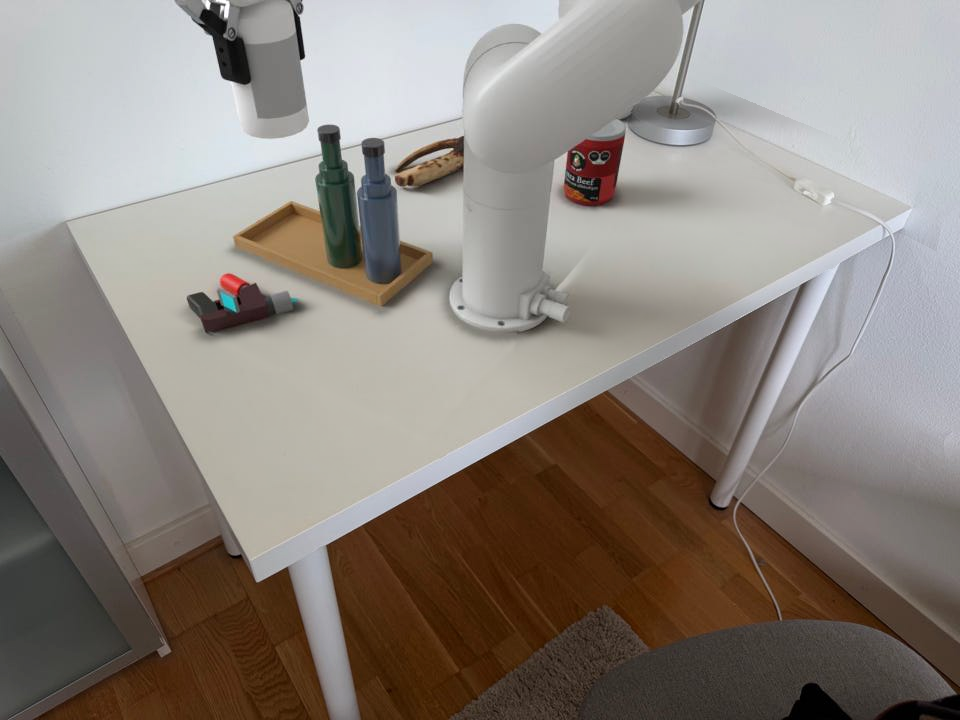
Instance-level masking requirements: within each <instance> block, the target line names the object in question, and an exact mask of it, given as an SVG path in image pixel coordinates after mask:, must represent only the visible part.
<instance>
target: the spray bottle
mask: <svg viewBox="0 0 960 720" xmlns="http://www.w3.org/2000/svg"><path fill="white" fill-rule="evenodd" d="M224 11H225V7H223V6H221V10H220V18H221V19H222V20H224ZM236 37H239V38H243V41H244V44H245V49H246V54H247V60H248V65H249V70H250V75H251V82H250V83H249V84H247V85H243V84H239V83H235V82H231V81H229V82H230V86H231V91H232V95H233V99H234V105H235V109H236V113H237V118H238V122H239V127H240V129H241V130H242V132H243V133H245V135H248V136H250V137H252V138H253V137H254V138H259V139H268V140H269V139H270V140H275V139H282V138H287V137H291V136H295V135H297V134H300V133H301V132H303V131H304V130H305V129H307V127H308V125H309V122H310V117H309V110H308V104H307V97H306V90H305V83H304V77H303V70H302V63H301V60H300V55H299V49H298V42H297V35H296V28H295V21H294V14H293V9H292V7H291V4H290V3H289V2H288V1H286V0H265V1H262V2H259V3H256V4H253V5H249V6H245V7H240V14H239V22H238V29H237V36H236Z"/></svg>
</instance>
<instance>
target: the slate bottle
mask: <svg viewBox="0 0 960 720" xmlns="http://www.w3.org/2000/svg"><path fill="white" fill-rule="evenodd" d="M360 143H361V153H362V155H363V161H364V171H365V174H363V176H362V177H361V179H360V185H361V186H360V187H359V188H358V189H357V191H356V199H357V208H358V218H359V226H361V236H362V245H363V255H364V264H365V274H366V277H367V279H368V280H369V281H371V282H373V283H377V284H388V283H391V282H392V281H394V280H395V279H396V278H397V277H398V276H400V275H401V274H402V267H401V251H400V241H401V237H400V235H401V234H400V220H399V204H398V203H399V202H398V191H397V189H396V187H395V186H393V185H392V178H391V176H390V175H389V174H387V173H386V167H385V153H386V149H385V141H384V140H383V139H381V138H379V137H369V138H365V139H363V140H362V141H361V142H360Z"/></svg>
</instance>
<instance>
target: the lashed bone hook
mask: <svg viewBox="0 0 960 720" xmlns="http://www.w3.org/2000/svg"><path fill="white" fill-rule="evenodd" d="M449 149H453V150H450V151H449V152H448V153H445V154H444V155H440V156H437V157H435V158H432V159H429V160H427V161H424V162H422V163H419V164H418V165H416V166H414V167H412V168H407V167H408V166H409V165H411V164H412V163H414V162H415V161H417V160H419V159H421V158H423V157H426V156H428V155H431V154H433V153H436V152H439V151H443V150H449ZM405 168H407V169H405ZM461 168H464V135H461V136H459V137H453V138H446V139H441V140H438V141H435V142H432V143H430V144H428V145H425V146H422V147H420V148H419V149H416V150H415V151H413V152H412V153H410V154H409V155H408V156H406V157H405V158H404V159H403V160H401V162H400V163H399V164H398V165H397V166H396V168H395V169H394V172H395V173H397V174H395V175H394V182H395V184H396V185H397V186H398V187H401V188H403V187H406V186H408V187H419V186H421V185H424V184H428V183H429V182H432V181H434V180H437V179H440V178H443V177H444V176H447V175H449V174H452V173H454V172H456V171H458V170H460V169H461ZM404 169H405V170H404ZM402 170H403V171H402ZM398 172H399V173H398Z"/></svg>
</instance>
